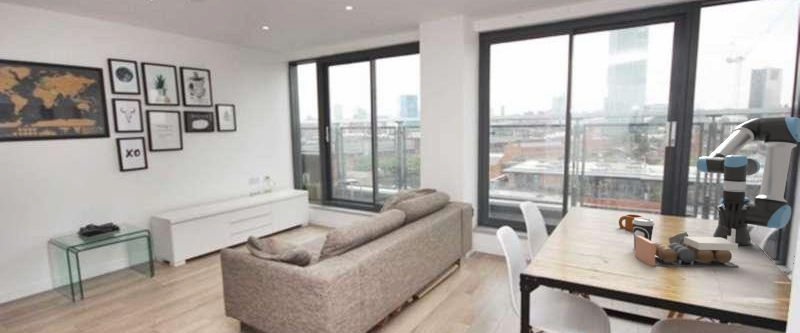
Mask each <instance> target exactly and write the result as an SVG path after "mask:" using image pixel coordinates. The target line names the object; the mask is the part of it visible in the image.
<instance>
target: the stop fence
mask: <svg viewBox="0 0 800 333" xmlns="http://www.w3.org/2000/svg"><path fill="white" fill-rule="evenodd" d="M656 243H657V242H654V241H652V240H651V241H650V240H648V239H646V238H644V237H642V236H640V235H636V243H635V248H634V249H635V250H634V257H635V258H637V259H639V260H640V261H641V262H643V263H645V264H647V265H648V266H650V267H651V266H652V267H656V266H655V252H656Z"/></svg>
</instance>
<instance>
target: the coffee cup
mask: <svg viewBox="0 0 800 333" xmlns="http://www.w3.org/2000/svg"><path fill="white" fill-rule="evenodd" d="M632 223H633V231H632V232H633V246H634V249H635V243H636V235H640V236H642V237H644V238H646V239H648V240H650V241H652V236H653V230H654V226H655V221H654V220H653V219H651V218H648V217H643V218H634V220H633V221H632Z"/></svg>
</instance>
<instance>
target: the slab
mask: <svg viewBox="0 0 800 333" xmlns="http://www.w3.org/2000/svg"><path fill="white" fill-rule="evenodd" d="M684 243H685V244H687V245H689V246H692V247H694V248H696V249H698V250H728V251H734V252H735V251H738V250H739V249H738V248H739V245H738V244H737V243H735V242H732V241H729V240H727V239H724V238H721V237H713V236H711V237H709V236H688V237H684Z"/></svg>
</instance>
